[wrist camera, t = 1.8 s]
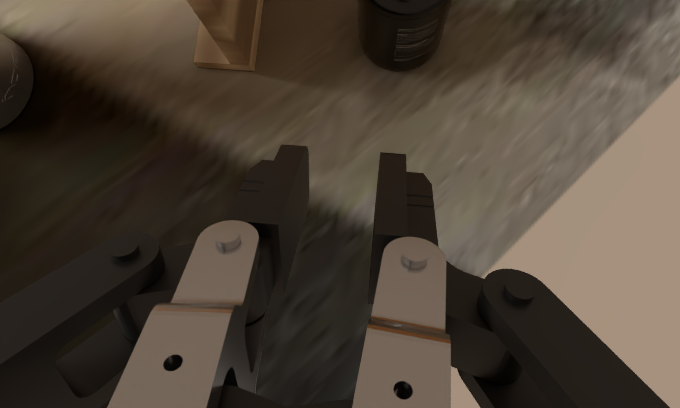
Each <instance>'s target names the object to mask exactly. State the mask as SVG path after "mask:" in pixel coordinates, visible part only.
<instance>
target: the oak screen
mask: <svg viewBox="0 0 680 408" xmlns="http://www.w3.org/2000/svg"><path fill="white" fill-rule="evenodd" d="M187 1H188V3H189V4H190V6H191V7H192V9H193V10H194V12H195V13H196V14H197V16H198V17H199V19H200V20H199V27H198V34H197V40H196V47H195V54H194V60H193V62H194V63H195V64H196V66H197V67H203V68H218V69H233V70H248V71H255V63H256V55H257V48H258V40H259V32H260V25H261V17H262V9H263V2H264V0H187Z"/></svg>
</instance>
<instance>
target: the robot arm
mask: <svg viewBox="0 0 680 408" xmlns="http://www.w3.org/2000/svg"><path fill="white" fill-rule="evenodd" d="M33 80H34V75H33V67H32V64H31V62H30V59H29V57H28V55H27V54H26V52H25V51H24V50H23V49H22V48H21V47H20V46H19V45H18V44H17V43H15V42H14V41H12V40H11V39H9V38H8V37H6V36H4V35H3V34H1V33H0V129H1V128H3V127H4V126H6V125H8V124H9V123H10V122H12V121H13V120H14V119H15V118H16V117H17V116H18V115H19V114H20V113H21V111H22V110H23V109H24V108H25V106H26V104H27V102H28V100H29V98H30V95H31V92H32V89H33ZM308 202H309V158H308V148H307V146H295V145H281V146H280V148H279V151H278V153H277V155H276V157H275V159H274V161H269V160H262V161H260V162H259V163H258V164H256V165H255V166H254V167H252V168H251V169H250V170H249V172H248V174H247V176H246V178H245V180H244V182H243V184H242V186H241V188H240V192H238V194H237V196H236V197H235V199H234V201H233V203H232V205H231V207H230V209H229V211H228V213H227V215H226V217H225V219H224V221H223V222H219V223H216V224H213V225H211V226H209V227H208V228H206V229H205V230H204V231H203V232H202V233H201V234H200V235H199V237H198V239H197V241H196V243H193V244H189V245H183V246H176V247H169V248H160V245H159V242H158V240H157V239H156V238H155V237H154V236H152V235H150V234H148V233H143V232H129V233H124V234H121V235H117V236H115V237H112V238H110V239H108V240H107V241H105V242H103V243H101V244H100V245H98V246H96V247H95V248H93V249H91V250H90V251H88V252H86V253H84V254H83V255H81V256H79V257H78V258H76V259H74V260H72V261H71V262H69V263H67V264H66V265H64V266H62V267H61V268H59V269H57V270H55V271H54V272H52V273H50V274H49V275H47V276H45V277H43V278H42V279H40V280H38V281H37V282H35V283H33V284H31V285H30V286H28V287H26V288H25V289H23V290H21V291H20V292H18V293H16V294H14V295H13V296H11V297H9V298H8V299H6V300H4V301H2V302H1V303H0V408H100V407H101V406H102V405H103V404H105V403H106V402H107V401H108V400H109V399H110V398H111V401H110V403H109V405H108V407H107V408H450V407H451V406H450V405H451V403H450V401H451V397H450V395H451V366H452V367H455V368H457V369H458V372H459V375H460V377H461V379H462V380H463V382H464V383H465V385H466V386H467V388H468V389H469V391H470V392H471V394H472V395H473V397H474V398H475V400H476V401H477V403H478V404H479V406H480V407H481V408H670V407H669V406H668V405H667V404H666V403H665V402H663V400H661V399H660V398H659V397H658V396H657V395H656V394H655V393H654V392H653V391H652V390H651V389H650V388H649V387H648V386H647V385H646V384H645V383H644V382H643V381H642V380H641V379H640V378H639V377H638V376H637V375H636V374H635V373H634V372H633V371H632V370H631V369H630V368H629V367H628V366H627V365H626V364H625V363H624V362H623V361H622V360H621V359H620V358H619V357H618V356H617V355H615V353H614V352H613V351H612V350H611V349H610V348H609V347H608V346H607V345H606V344H604V343H603V342H602V341H601V340H600V339H599V338H598V337H597V336H596V335H595V334H594V333H593V332H592V331H591V330H590V329H589V328H588V327H587V326H586V325H585V324H584V323H583V322H582V321H581V320H580V319H579V318H578V317H577V316H576V315H575V314H574V313H573V312H572V311H571V310H570V309H569V308H568V307H567V306H566V305H565V304H564V303H563V302H562V301H561V300H560V299H559V298H557V296H556V295H554V293H552V291H550V289H548V288H547V287H546V286H545V285H544V284H543V283H542V282H541V281H540V280H538V279H537V278H535V277H533V276H532V275H530V274H528V273H525V272H522V271H519V270H514V269H500V270H496V271H493V272H491V273H490V274H488V275H487V276H486V277H485V279H483V278H480V277H477V276H474V275H471V274H468V273H466V272H463V271H461V270H459V269H457V268H455V267H454V266H452V265H451V264H450V263H449V262H447V261H446V258H445V255H444V254H443V252H442V251H441V249H440V248H439V247H438V239H437V230H436V220H435V211H434V202H433V192H432V184H431V183H430V182H429V180H428V179H427V178H426V176H425V175H424V174H423V173H414V172H406V154H395V153H382V152H380V161H379V172H378V182H377V192H376V203H375V215H374V228H373V241H372V254H371V268H370V281H369V294H368V303H369V304H373V310H372V315H371V319H369V323H368V328H367V333H366V338H365V343H364V348H363V353H362V359H361V364H360V369H359V374H358V379H357V385H356V390H355V395H354V400H338V401H330V402H323V403H315V404H308V405H301V406H292V407H289V406H284V405H281V404H278V403H276V402H274V401H271V400H269V399H266V398H264V397H262V396H259V395H257V394H255V389H256V380H257V374H258V368H259V363H260V357H261V352H262V346H263V341H264V335H265V330H266V324H267V319H268V310H267V307H268V305H269V301H270V298H271V295H272V293H275V294H284V292H285V288H286V285H287V281H288V278H289V274H290V270H291V267H292V263H293V260H294V256H295V253H296V249H297V245H298V242H299V238H300V235H301V231H302V228H303V224H304V220H305V217H306V213H307V209H308ZM112 311H113V312H114V314H115V317H116V319H114V320H113V321H112V322H110V323H109V324H108V325H106V326H105V327H103V328H102V329H101V330H99V331H98V332H97V333H95V334H94V335H92V336H91V337H90V338H88V339H87V340H86V341H84V342H83V343H81V344H80V345H79V346H77V347H76V348H75V349H73V350H72V351H70V352H69V353H68V354H66V355H65V356H64V357H62V358H61V359H59V360H57V361H55V359H56V356H57V354H58V353H59V351H60V350H61V349H62V348H63V347H64V346H65V345H66V344H67V343H68V342H70V341H71V340H72V339H74V338H75V337H77V336H78V335H79V334H81V333H82V332H84V331H85V330H86V329H88V328H89V327H91V326H92V325H94V324H95V323H96V322H98V321H99V320H101V319H102V318H103V317H105V316H106V315H108V314H109V313H110V312H112Z"/></svg>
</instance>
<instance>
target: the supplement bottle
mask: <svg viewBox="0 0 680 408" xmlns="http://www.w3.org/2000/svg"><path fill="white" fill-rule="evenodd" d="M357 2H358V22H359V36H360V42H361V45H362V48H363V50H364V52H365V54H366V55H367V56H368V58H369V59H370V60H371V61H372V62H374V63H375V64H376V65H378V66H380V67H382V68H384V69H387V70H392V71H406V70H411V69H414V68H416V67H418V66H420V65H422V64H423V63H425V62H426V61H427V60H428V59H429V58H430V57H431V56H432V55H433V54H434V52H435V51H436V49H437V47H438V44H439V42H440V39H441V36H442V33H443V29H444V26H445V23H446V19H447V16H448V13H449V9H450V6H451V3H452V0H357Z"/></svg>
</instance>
